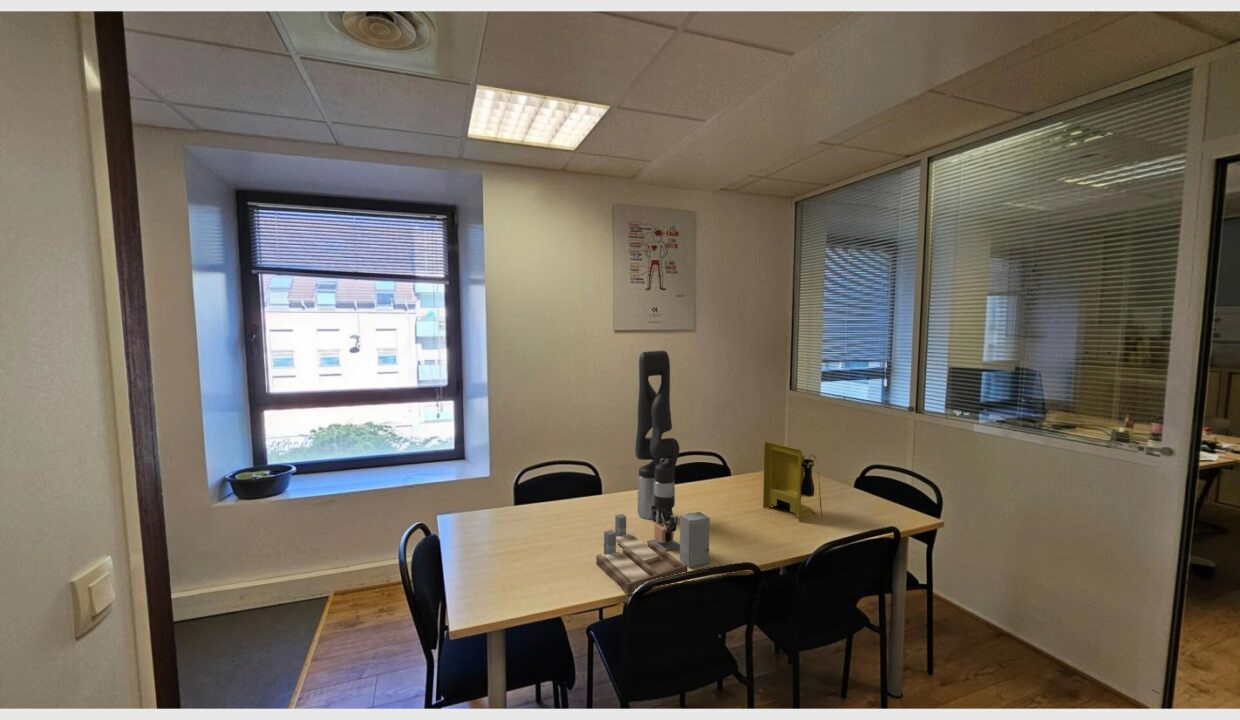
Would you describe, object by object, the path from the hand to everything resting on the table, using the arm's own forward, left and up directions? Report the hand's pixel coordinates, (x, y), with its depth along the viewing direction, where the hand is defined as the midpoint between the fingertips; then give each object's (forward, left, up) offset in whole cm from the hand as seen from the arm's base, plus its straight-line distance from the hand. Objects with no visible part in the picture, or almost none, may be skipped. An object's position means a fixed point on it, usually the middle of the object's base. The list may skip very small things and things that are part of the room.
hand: (663, 538), depth 167 cm
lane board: (+11, -17, -2) cm, 20 cm away
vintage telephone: (+3, +66, -3) cm, 66 cm away
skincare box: (+15, +2, -3) cm, 15 cm away
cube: (0, 0, 0) cm, 0 cm away
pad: (0, 0, -2) cm, 2 cm away
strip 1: (-1, -12, -1) cm, 12 cm away
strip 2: (+9, -22, -1) cm, 24 cm away
